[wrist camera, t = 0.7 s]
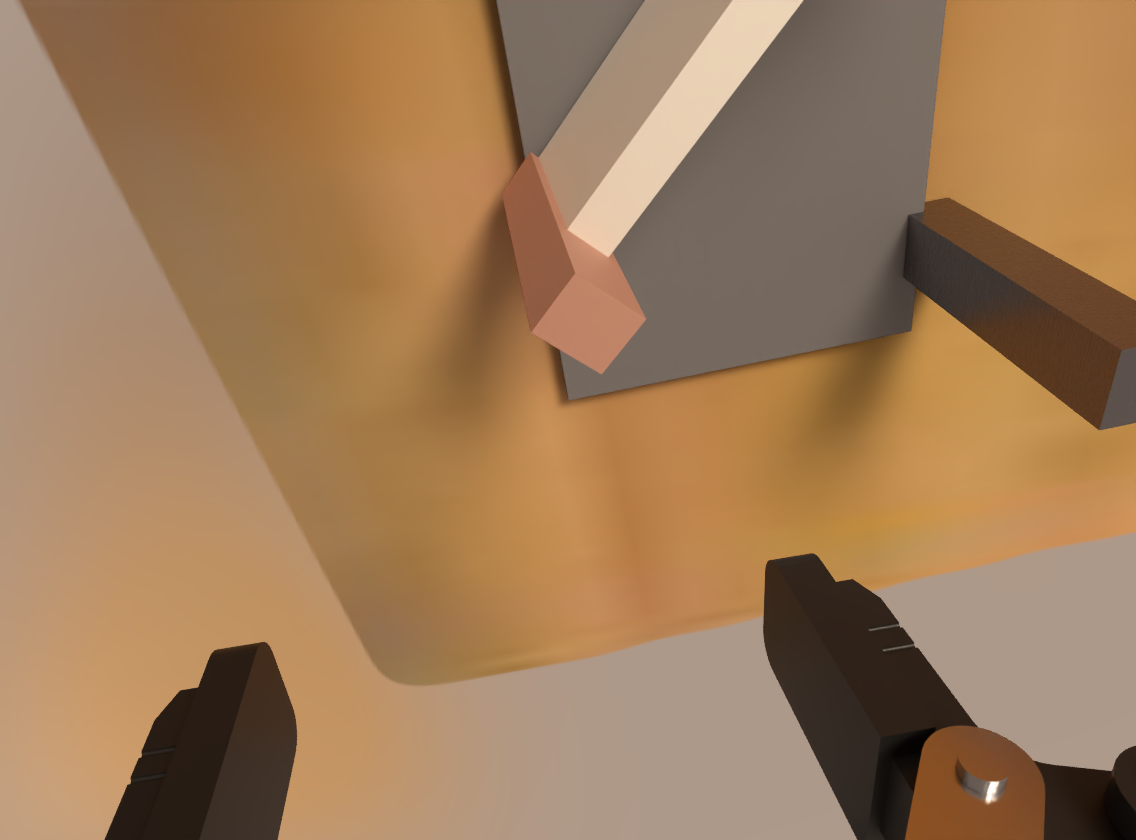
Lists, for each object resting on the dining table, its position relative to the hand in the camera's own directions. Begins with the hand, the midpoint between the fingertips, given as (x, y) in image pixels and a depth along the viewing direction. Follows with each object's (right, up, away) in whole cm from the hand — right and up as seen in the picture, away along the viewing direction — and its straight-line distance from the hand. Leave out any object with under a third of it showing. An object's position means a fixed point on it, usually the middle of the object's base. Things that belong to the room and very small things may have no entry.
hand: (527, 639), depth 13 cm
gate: (+4, +19, +16) cm, 25 cm away
